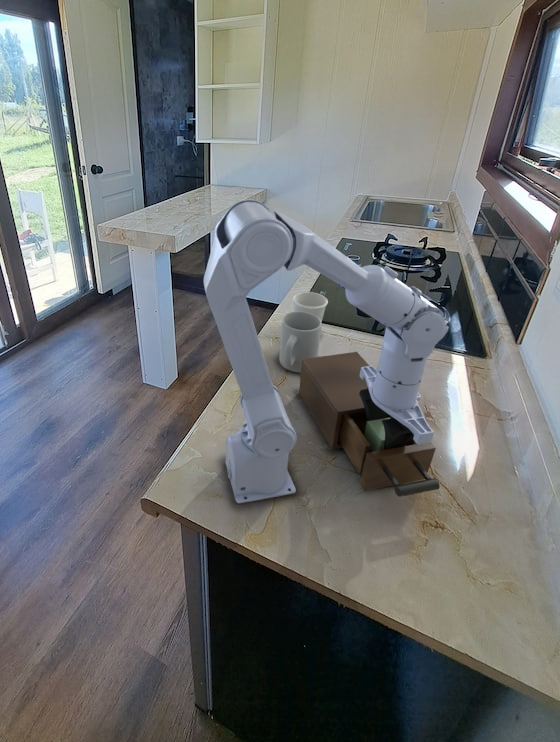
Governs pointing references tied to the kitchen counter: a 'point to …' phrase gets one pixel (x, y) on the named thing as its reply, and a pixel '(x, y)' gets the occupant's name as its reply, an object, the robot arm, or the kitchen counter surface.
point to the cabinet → (332, 390)
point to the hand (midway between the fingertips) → (382, 440)
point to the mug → (299, 339)
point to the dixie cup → (310, 303)
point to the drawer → (387, 460)
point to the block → (375, 434)
